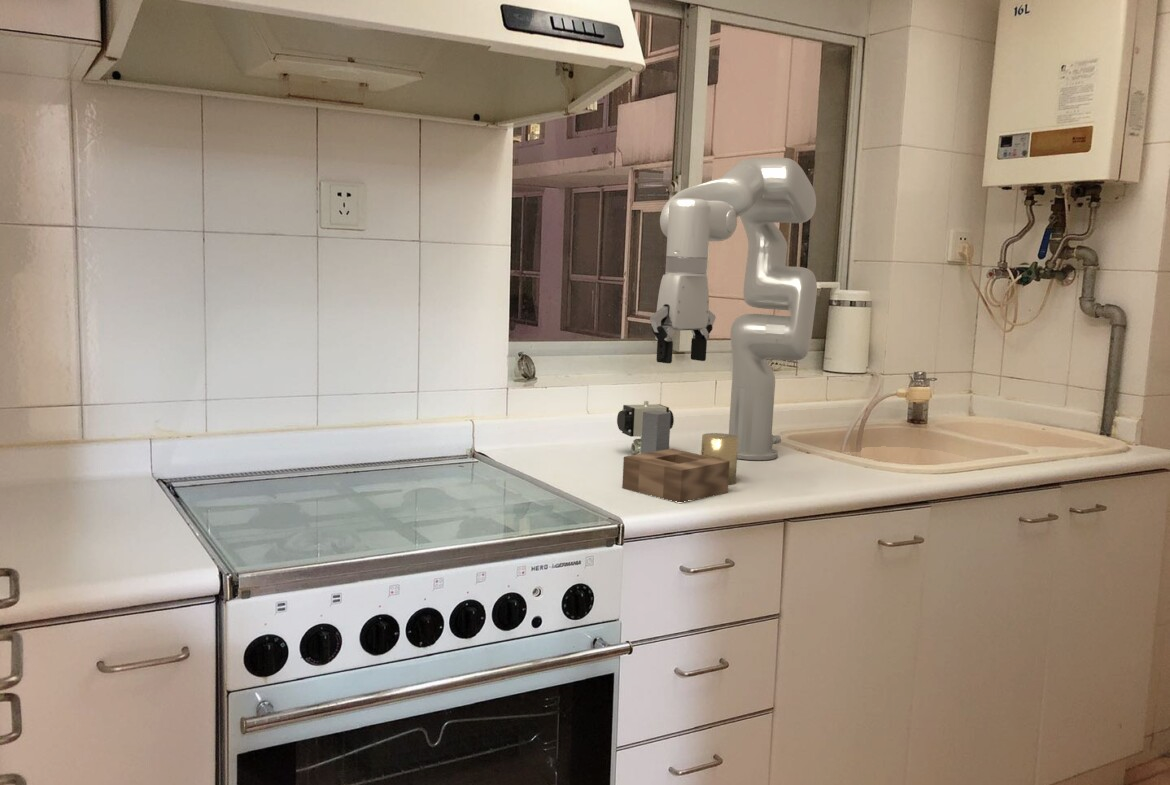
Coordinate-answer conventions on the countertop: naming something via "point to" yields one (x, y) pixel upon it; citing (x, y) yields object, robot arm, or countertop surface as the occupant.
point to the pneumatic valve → (637, 421)
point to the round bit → (722, 450)
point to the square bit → (655, 431)
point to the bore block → (675, 475)
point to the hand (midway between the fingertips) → (681, 361)
